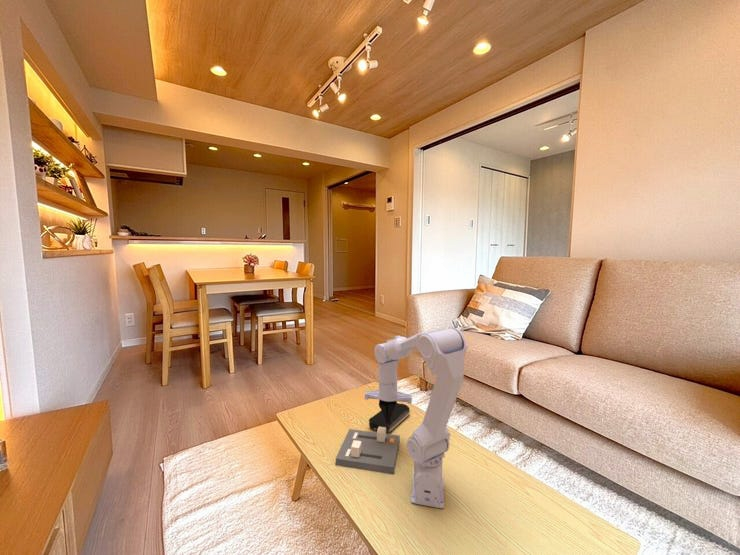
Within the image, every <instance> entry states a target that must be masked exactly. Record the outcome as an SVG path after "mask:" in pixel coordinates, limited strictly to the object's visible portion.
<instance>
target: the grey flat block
mask: <svg viewBox="0 0 740 555" xmlns="http://www.w3.org/2000/svg"><path fill="white" fill-rule="evenodd" d="M400 435H401V434H400ZM400 435H399V434H392V433H391V434H390V433H386V438H385V442H379V441H377V431H368V430H361V429H353V428H349V429H348V431H347V433H346V435H345V438H344V439H343V442H342V444H341V446H340V448H339V450H338V453H337V455H336V457H335V465H336V466H340V467H341V466H342V467H348V468H354V469H360V470H367V471H373V472H379V473H384V474H385V473H387V474H391V475H392V474H393V475H394V474H395V468H396V463H397V458H398V452H399V447H400V443H401V442H400V441H401V438H400V437H401V436H400ZM354 440H356V441H362V451H361V454H360V457H352V456H351V446H352V443H353V441H354Z"/></svg>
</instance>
